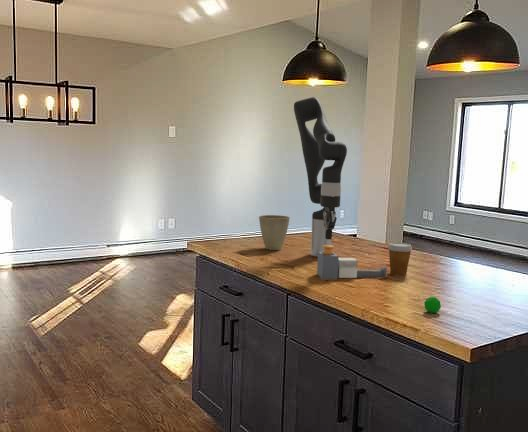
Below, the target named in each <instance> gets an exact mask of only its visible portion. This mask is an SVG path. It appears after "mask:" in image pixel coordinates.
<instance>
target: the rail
mask: <svg viewBox="0 0 528 432" xmlns="http://www.w3.org/2000/svg"><path fill="white" fill-rule="evenodd" d="M357 278H382V279H385V278H387V267H386V266H384V265H381V266H380V269H357Z"/></svg>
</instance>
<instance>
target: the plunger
mask: <svg viewBox="0 0 528 432" xmlns="http://www.w3.org/2000/svg"><path fill="white" fill-rule="evenodd" d="M323 248H324V255H332V254H333V252H334V251H333V250H334V248H335V245H332V244H331V245H323Z"/></svg>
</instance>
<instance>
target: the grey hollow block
mask: <svg viewBox="0 0 528 432" xmlns="http://www.w3.org/2000/svg"><path fill="white" fill-rule="evenodd" d="M338 258H340V257H339V255H338V254H337V253H335V252H334V251H333V254H332V255H324V252H318V257H317V262H316V263H317V266H316V275H317V276H318V277H319V278H320V279H321V280H338V278H339V277H338Z"/></svg>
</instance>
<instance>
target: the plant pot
mask: <svg viewBox="0 0 528 432" xmlns="http://www.w3.org/2000/svg"><path fill="white" fill-rule="evenodd" d="M290 219H291V218H290V216H287V215H280V214H279V215H275V214H269V215H268V214H265V215H264V214H263V215H259V216H258V220H259V227H260V232H261V237H262V241H263V244H264V248H265V249H266V250H268V249H269V251H280V250H282V247H283V245H284V243H285V240H286V236H287V232H288V229H289V223H290Z"/></svg>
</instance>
